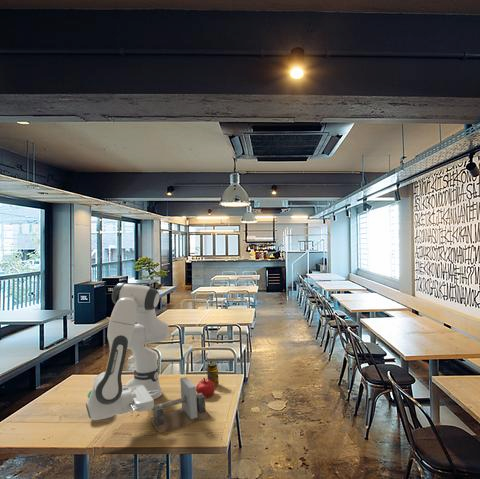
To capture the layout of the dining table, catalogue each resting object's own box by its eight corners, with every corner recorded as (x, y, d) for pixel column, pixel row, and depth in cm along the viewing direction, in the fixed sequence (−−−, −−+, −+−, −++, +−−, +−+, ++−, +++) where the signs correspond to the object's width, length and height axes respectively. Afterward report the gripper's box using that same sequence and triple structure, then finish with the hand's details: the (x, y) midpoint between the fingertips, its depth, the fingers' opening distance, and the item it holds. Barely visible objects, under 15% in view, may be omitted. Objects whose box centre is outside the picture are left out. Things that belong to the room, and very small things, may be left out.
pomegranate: (217, 397, 184) (216, 379, 183) (198, 400, 181) (197, 382, 180) (213, 389, 193) (212, 372, 193) (194, 392, 190) (194, 375, 190)
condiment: (222, 385, 198) (220, 363, 198) (210, 390, 192) (209, 368, 192) (213, 381, 203) (212, 361, 203) (201, 386, 197) (200, 365, 197)
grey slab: (191, 419, 159) (189, 387, 159) (181, 407, 171) (180, 378, 171) (197, 417, 161) (195, 386, 161) (187, 406, 172) (186, 377, 172)
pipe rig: (158, 433, 152) (157, 412, 152) (150, 419, 164) (149, 399, 164) (210, 417, 163) (209, 397, 163) (199, 405, 176) (198, 387, 175)
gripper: (131, 403, 144) (165, 394, 150) (122, 385, 162) (153, 378, 168) (132, 418, 144) (166, 409, 150) (123, 399, 162) (153, 392, 168)
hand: (159, 392), depth 159 cm, fingers closed
